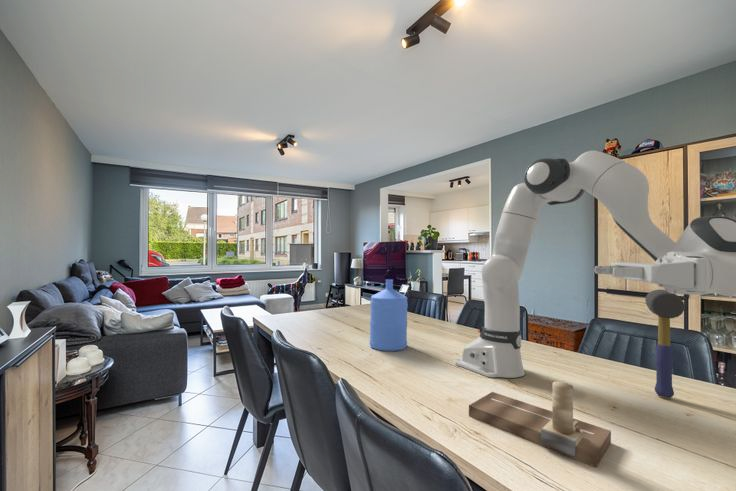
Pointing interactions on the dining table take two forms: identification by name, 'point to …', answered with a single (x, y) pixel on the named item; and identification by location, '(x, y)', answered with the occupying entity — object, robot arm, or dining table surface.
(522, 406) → the walnut board
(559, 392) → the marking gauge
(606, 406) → the dining table surface
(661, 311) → the rubber mallet
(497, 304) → the robot arm
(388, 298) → the water jug
